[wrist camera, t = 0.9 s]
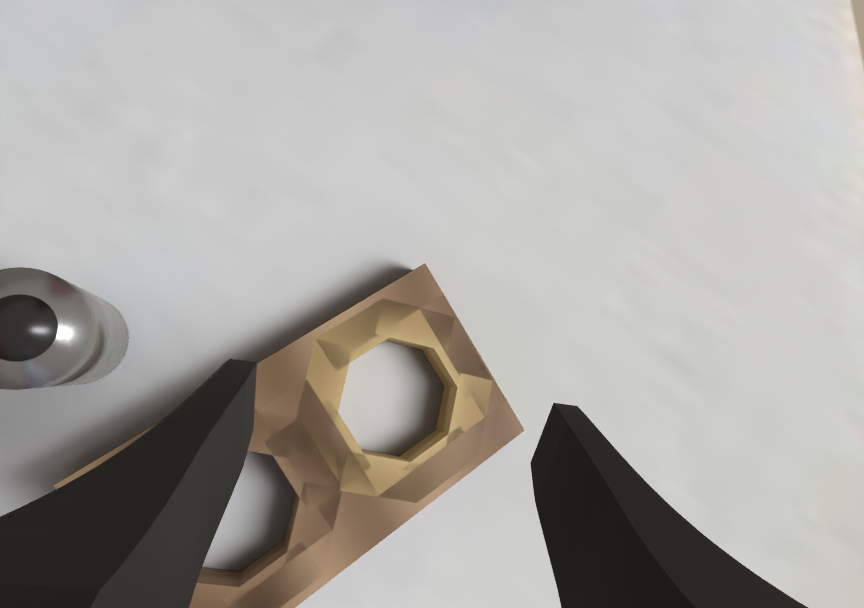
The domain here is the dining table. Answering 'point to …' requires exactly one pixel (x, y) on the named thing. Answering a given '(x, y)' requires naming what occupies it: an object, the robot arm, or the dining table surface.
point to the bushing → (55, 332)
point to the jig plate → (341, 455)
